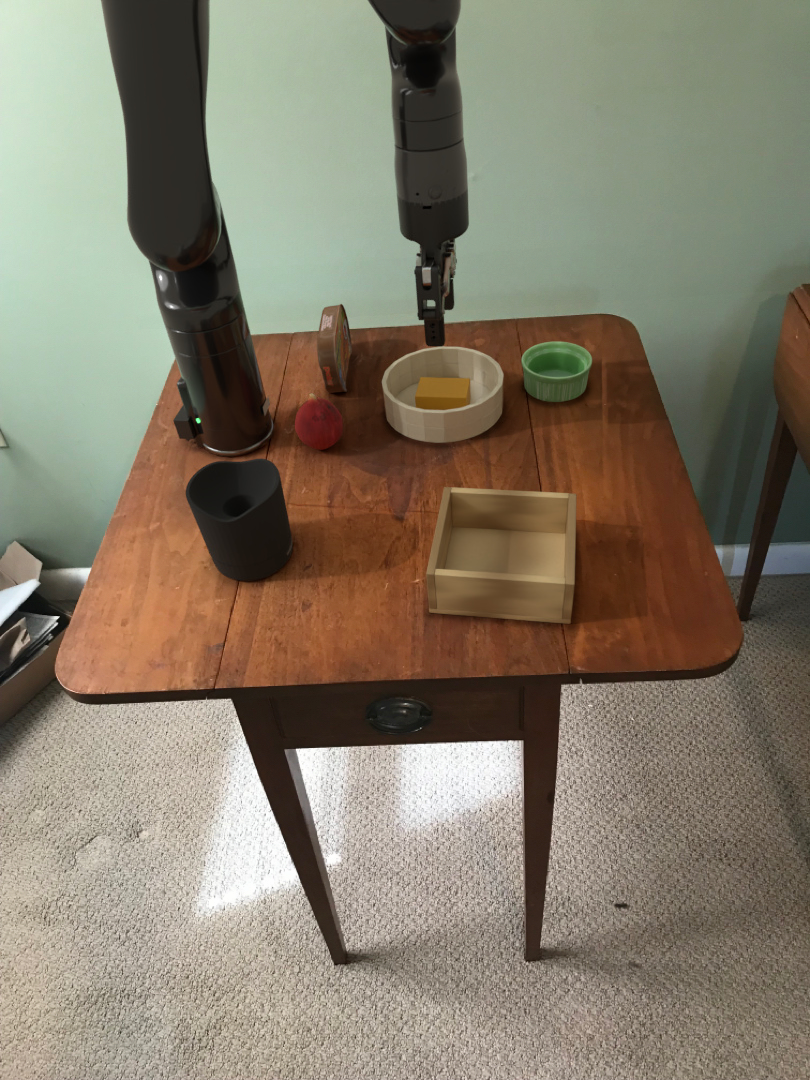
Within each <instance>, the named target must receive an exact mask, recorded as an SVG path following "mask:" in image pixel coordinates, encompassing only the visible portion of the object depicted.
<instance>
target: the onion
mask: <svg viewBox="0 0 810 1080" xmlns="http://www.w3.org/2000/svg"><path fill="white" fill-rule="evenodd" d="M343 423H344V421H343V416H342V413H341V412H340V410H339V409H338V408H337V406H335V405H334V403H332V402H331V401H330V400H328V399H326V398H322V397H319V396H317V395H316V393H313V392H310V393H308V399H307V400H306V401H305V402H304V403H303V404H301V406H300V407H299V409H297V411H296V414H295V420H294V430H295V432H296V434H297V437H298V438H299V440H300V441H301V442H302V443H303V444H304V445H306V446H307V447H309V448H311V449H315V450H318V451H324V450H327V449H329V448H331V447H332V446H334V445H335V444H336V443H338V441H339V440H340V438H341V437H342V434H343V432H344V424H343Z"/></svg>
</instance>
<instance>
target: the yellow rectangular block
mask: <svg viewBox="0 0 810 1080" xmlns="http://www.w3.org/2000/svg"><path fill="white" fill-rule="evenodd" d="M470 398H471V392H470V378H434V377H420V381H419V384H418V388H417V391H416V395H415V404H416V408H420V409H425V410H448V409H455V408H462V407H465V406H467V405H469V403H470Z"/></svg>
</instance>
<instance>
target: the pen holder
mask: <svg viewBox="0 0 810 1080" xmlns="http://www.w3.org/2000/svg"><path fill="white" fill-rule="evenodd" d="M185 497H186V501H187V503H188V506H189V509H190V510H191V513H192V515H193V518H194V520H195V523H196V525H197V527H198V529H199V532H200V535H201V536H202V540H203V542H204V544H205V547H206V548H207V551H208V553H209V555H210V558H211V560H212V562H213V564H214V566H215V568H216V569H217V571H218V572H219V573H220V574H222V575H223V576H225V577H226V578H228V579H231V580H234V581H239V582H253V581H258V580H262V579H265V578H267V577H270V576H272V575H274V574H275V573H277V572H279V570H281V569H282V568H283V567H284V566H285V565H286V564H287V562H288V561H289V560H290V558H291V556H292V554H293V549H294V541H293V536H292V530H291V525H290V520H289V514H288V509H287V503H286V498H285V494H284V489H283V484H282V479H281V474H280V471H279V469H278V467H277V466H276V464H275V463H273V461H271V460H269V459H266V458H253V459H248V460H243V461H242V460H241V461H236V460H235V461H234V460H218V461H214V462H210V463H208V464H205V465H204V466H202V467H201V468H199V469H198V470H197V471H196V472H195V473H194V474H193V475H192V476H191V477H190V479H189V480H188V482H187V485H186V488H185Z"/></svg>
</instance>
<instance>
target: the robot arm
mask: <svg viewBox="0 0 810 1080" xmlns="http://www.w3.org/2000/svg"><path fill="white" fill-rule="evenodd" d="M100 2H101V9H102V10H101V11H102V15H103V21H104V28H105V33H106V38H107V44H108V49H109V54H110V60H111V64H112V67H113V68H112V69H113V73H114V74H113V75H114V78H115V82H116V87H117V91H118V97H119V101H120V107H121V111H122V118H123V126H124V136H125V150H126V155H125V156H126V183H127V185H126V186H127V195H126V196H127V197H126V198H127V199H126V200H127V204H126V223H127V228H128V231H129V234H130V237H131V238H132V240H133V242H134V244H135V246H136V248H137V249H138V250H139V251H140V252H141V254H142V255H143V256H144V257H145V258H146V259H147V260H148V263H149V267H150V271H151V275H152V280H153V285H154V290H155V296H156V303H157V306H158V310H159V313H160V315H161V318H162V321H163V324H164V327H165V330H166V334H167V337H168V341H169V343H170V347H171V349H172V352H173V355H174V359H175V362H176V364H177V368H178V371H179V374H180V377H179V379H178V380H177V382H176V387H177V390H178V393H179V394H178V395H179V397H180V399H181V403H182V406H181V407H180V409H179V411H178V412H177V414H176V415H175V416H174V418H173V420H172V422H173V424H174V427H175V430H176V432H177V433H176V434H177V435H178V438H179V439H180V440H186V441H187V442H189V441H190V440H194V442H195V445H196V447H197V448H204V449H205V450H206V451H207V452H209V453H211V454H212V455H216V456H220V457H221V456H222V457H237V456H243V455H246V454H249V453H252V452H255V451H256V450H258V449H260V448H262V447H264V446H265V445H266V444H267V443H268V442H269V441H270V440H271V438H273V435H274V432H275V426H274V421H273V418H272V416H271V412H270V405H271V400H270V396H269V395H266V392H265V391H266V390H265V387H264V383H263V379H262V375H261V371H260V367H259V363H258V359H257V354H256V351H255V346H254V342H253V338H252V334H251V329H250V326H249V321H248V317H247V314H246V310H245V305H244V301H243V297H242V292H241V286H240V282H239V281H240V280H239V276H238V275H239V274H238V270H237V266H236V262H235V258H234V253H233V249H232V245H231V240H230V236H229V232H228V228H227V224H226V219H225V215H224V211H223V206H222V202H221V199H220V195H219V192H218V189H217V187H216V184H215V183H214V181H213V177H212V170H211V163H210V155H209V147H208V137H207V97H208V80H209V64H210V63H209V62H210V59H209V58H210V33H211V32H210V30H211V29H210V27H211V25H210V22H211V21H210V19H211V14H210V13H211V10H210V9H211V8H210V6H211V5H210V3H211V2H210V0H100ZM367 2H368V4H369V5H370V7H371V8H372V10H373V11H374V12H375V14H376V16H377V17H378V18H379V20H380V21H381V23H382V24H383V25H384V31H385V39H386V46H387V47H386V49H387V53H388V62H389V69H390V77H391V79H390V80H391V81H390V82H391V83H390V109H391V122H392V123H391V124H392V134H393V143H394V145H393V146H394V157H393V158H394V159H393V161H394V162H393V168H394V170H393V171H394V180H395V191H396V200H397V203H396V204H397V211H398V212H397V213H398V224H399V232H400V233H401V235H402V236H403V237H404V238H405V239H406V240H408V241H411V242H414V243H416V244H418V245H419V252H416V255H415V268H414V270H413V274H414V276H415V277H414V278H415V290H416V291H415V292H416V293H415V294H416V306H417V314H416V316H417V320H418V321H423V328H424V338H425V339H424V340H425V345H426V346H427V347H431V348H433V347H441V346H444V345H445V343H446V329H445V326H446V325H445V314H446V311H453V310H454V307H455V288H454V285H455V284H454V279H455V276H456V269H457V264H458V258H457V253H456V251H457V245H456V239H457V238H459V237H461V236H463V235H464V234H465V233H466V232H467V230H468V229H469V226H470V215H469V186H468V185H469V183H468V182H469V181H468V159H467V152H466V146H465V137H464V110H463V105H464V104H463V96H462V87H461V83H460V78H459V74H458V66H457V65H458V64H457V24H458V23H459V18H460V16H461V9H462V0H367ZM428 301H433V302H434V305H428Z"/></svg>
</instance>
